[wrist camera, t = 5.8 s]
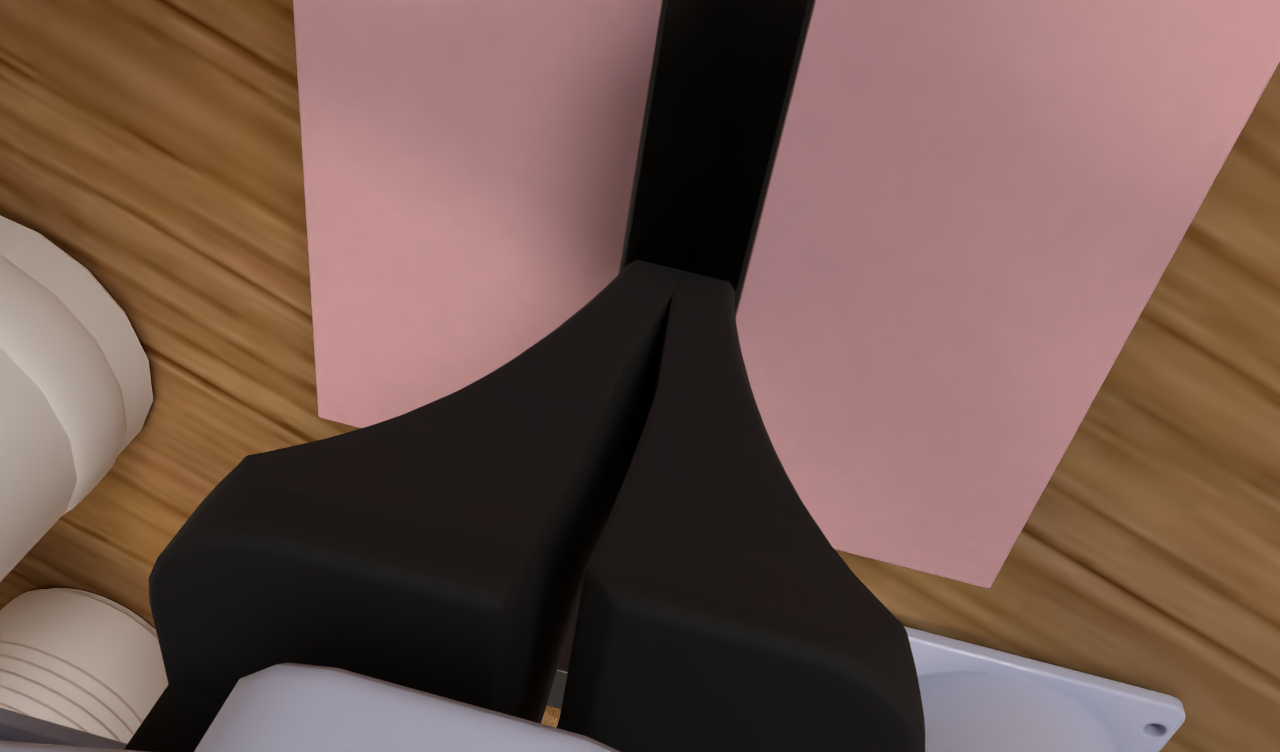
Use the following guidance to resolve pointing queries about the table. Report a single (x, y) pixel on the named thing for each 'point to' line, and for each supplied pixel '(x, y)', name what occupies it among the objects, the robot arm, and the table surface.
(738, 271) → the knife
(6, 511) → the bottle
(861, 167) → the pink sponge pad
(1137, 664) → the table surface
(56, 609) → the cup
